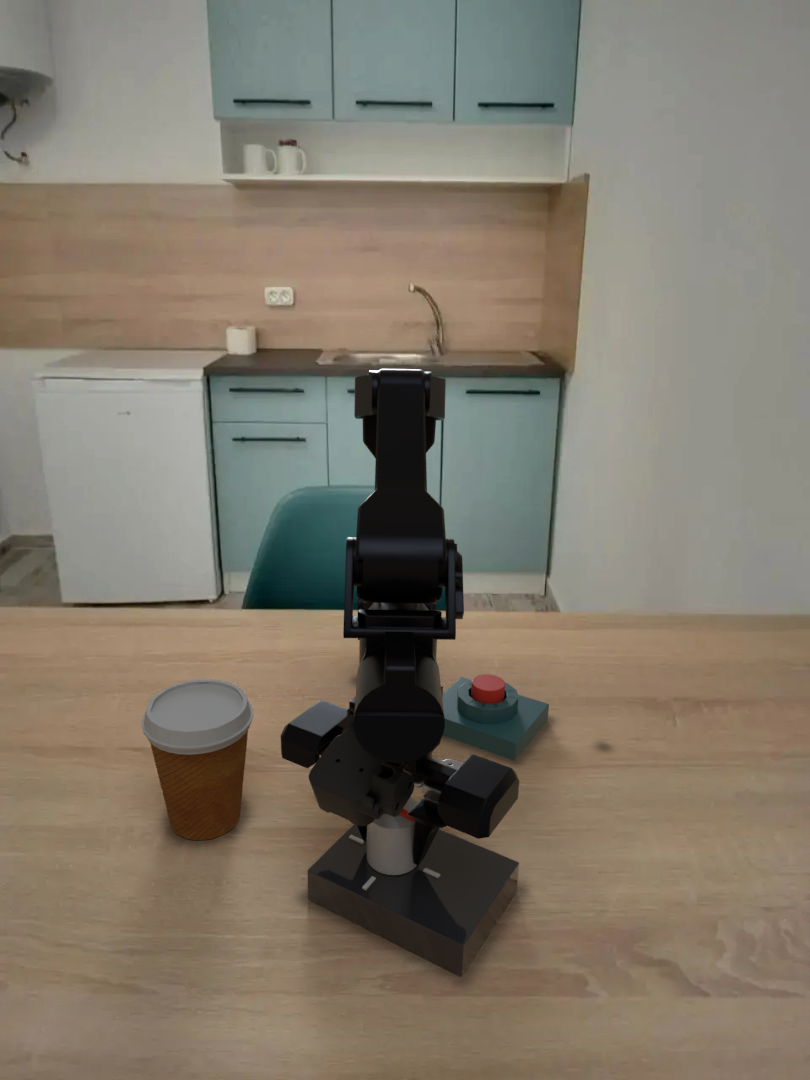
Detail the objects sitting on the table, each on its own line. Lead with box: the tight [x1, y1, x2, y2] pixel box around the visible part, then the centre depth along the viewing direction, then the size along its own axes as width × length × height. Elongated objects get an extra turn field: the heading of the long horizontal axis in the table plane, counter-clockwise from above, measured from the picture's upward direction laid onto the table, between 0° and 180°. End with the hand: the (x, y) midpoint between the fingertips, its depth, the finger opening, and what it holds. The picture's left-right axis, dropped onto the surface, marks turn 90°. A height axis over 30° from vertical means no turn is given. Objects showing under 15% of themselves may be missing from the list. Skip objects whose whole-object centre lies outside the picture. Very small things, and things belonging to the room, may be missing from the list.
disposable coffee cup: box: [141, 678, 254, 841], centre depth 74 cm, size 10×10×12 cm
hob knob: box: [366, 796, 419, 875], centre depth 67 cm, size 4×4×5 cm
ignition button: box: [471, 673, 506, 704], centre depth 90 cm, size 4×4×2 cm
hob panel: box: [306, 823, 520, 977], centre depth 67 cm, size 14×10×3 cm
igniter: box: [442, 676, 550, 762], centre depth 91 cm, size 11×9×4 cm
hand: (393, 850), depth 68 cm, fingers closed on hob knob, 4 cm apart
